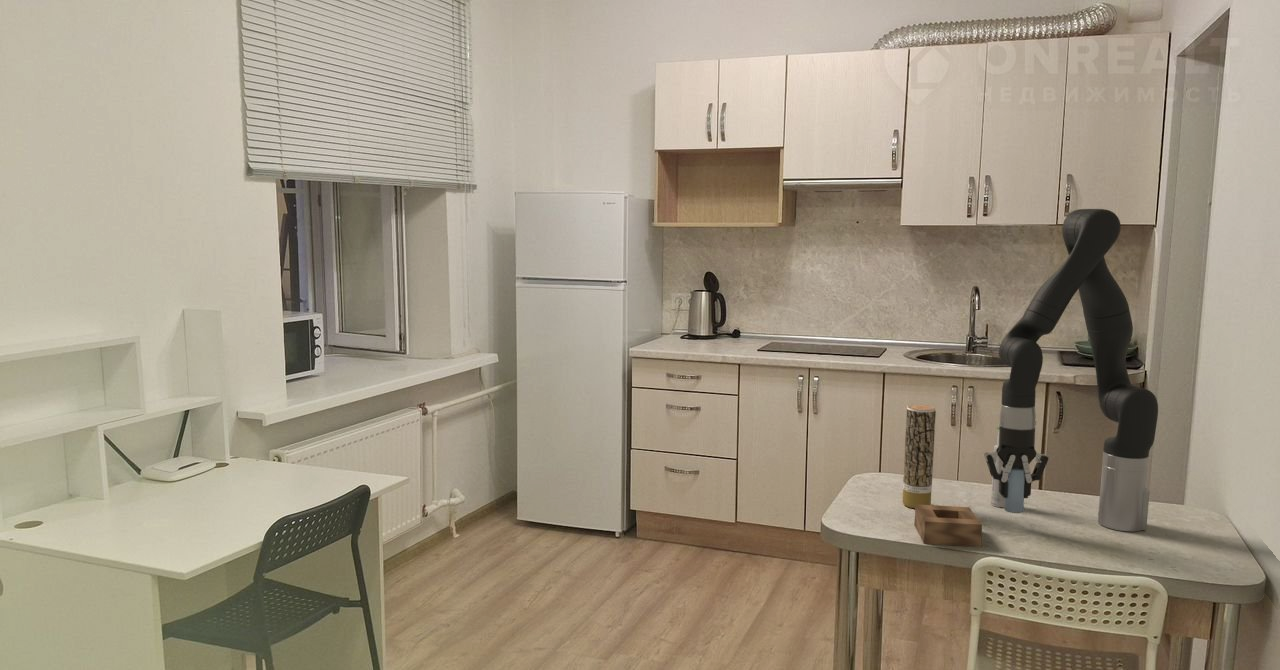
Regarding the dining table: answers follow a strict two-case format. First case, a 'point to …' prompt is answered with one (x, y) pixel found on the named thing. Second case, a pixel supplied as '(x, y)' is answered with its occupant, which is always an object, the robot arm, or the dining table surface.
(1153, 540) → the dining table surface
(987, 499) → the dining table surface
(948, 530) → the socket block
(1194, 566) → the dining table surface
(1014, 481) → the peg
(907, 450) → the brown bark cylinder
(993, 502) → the bottle
